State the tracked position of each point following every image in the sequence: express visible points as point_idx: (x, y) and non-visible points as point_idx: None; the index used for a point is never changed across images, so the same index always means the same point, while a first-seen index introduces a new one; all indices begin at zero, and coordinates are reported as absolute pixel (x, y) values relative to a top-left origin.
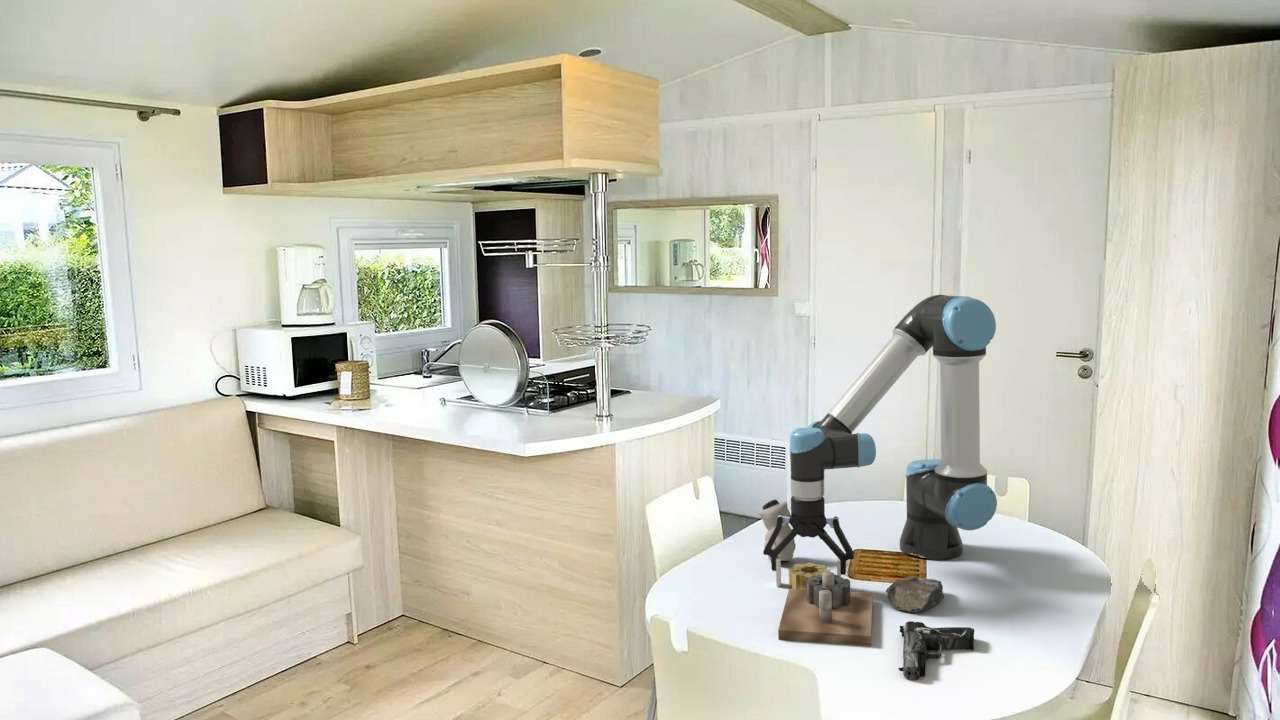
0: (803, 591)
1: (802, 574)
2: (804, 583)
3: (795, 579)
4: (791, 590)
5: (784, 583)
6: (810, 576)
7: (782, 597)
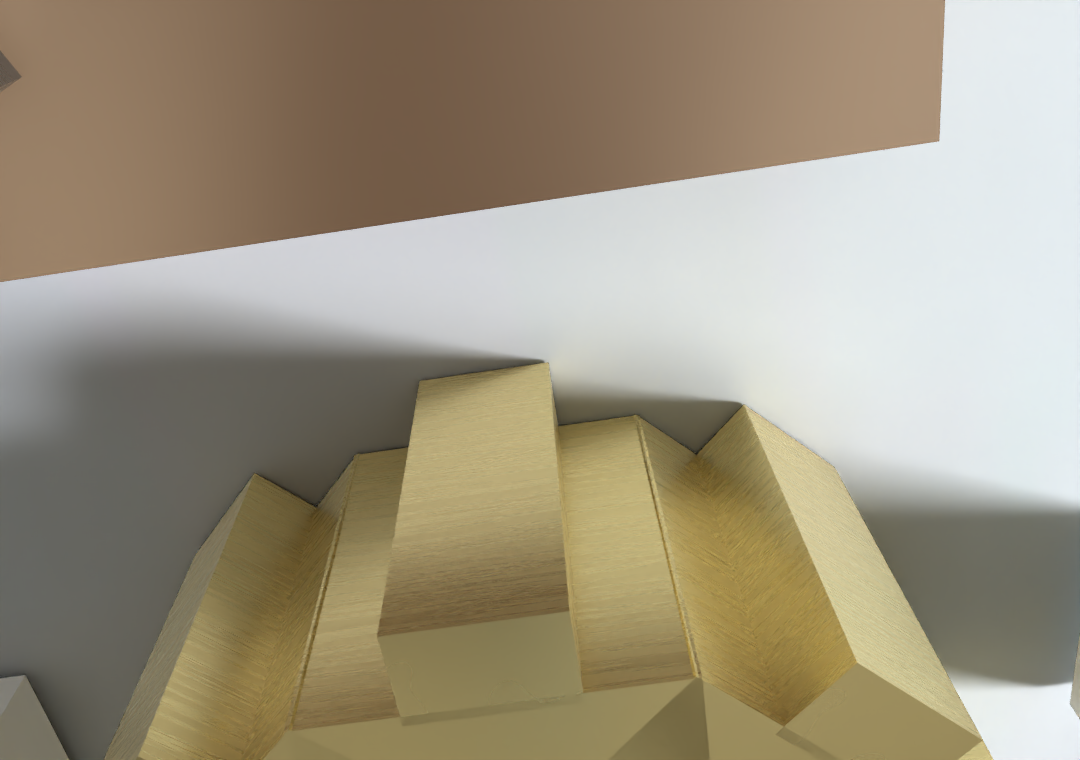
0: (490, 44)
1: (669, 741)
2: (583, 539)
3: (829, 578)
4: (856, 18)
5: (998, 690)
6: (408, 680)
7: (1014, 34)
